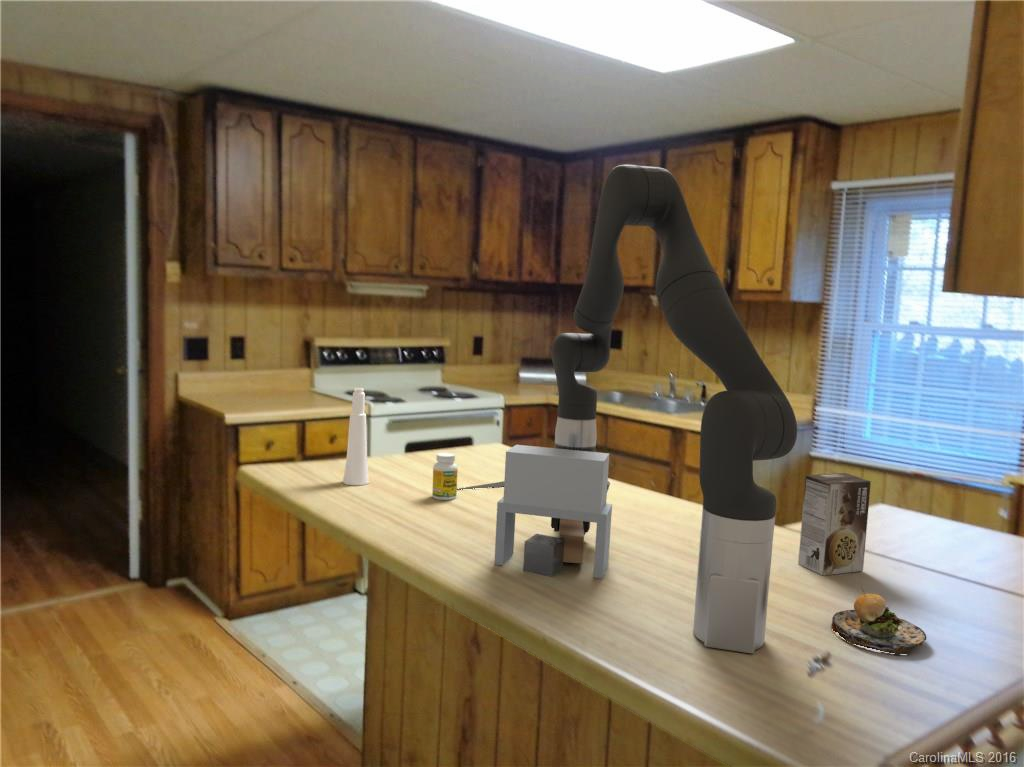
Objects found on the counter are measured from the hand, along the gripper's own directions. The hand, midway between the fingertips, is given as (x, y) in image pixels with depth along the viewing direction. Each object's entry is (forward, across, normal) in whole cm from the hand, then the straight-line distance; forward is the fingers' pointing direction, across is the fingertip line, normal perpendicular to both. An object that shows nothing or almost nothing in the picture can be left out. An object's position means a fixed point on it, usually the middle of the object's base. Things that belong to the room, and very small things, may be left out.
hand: (570, 531), depth 144 cm
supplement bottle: (+1, -31, +19) cm, 37 cm away
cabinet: (+1, 0, -16) cm, 16 cm away
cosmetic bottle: (+1, -54, +23) cm, 59 cm away
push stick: (+1, +1, -4) cm, 4 cm away
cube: (+1, -1, -18) cm, 18 cm away
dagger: (+2, -23, +36) cm, 43 cm away
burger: (+2, +48, -27) cm, 55 cm away
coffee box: (+2, +46, +2) cm, 46 cm away
